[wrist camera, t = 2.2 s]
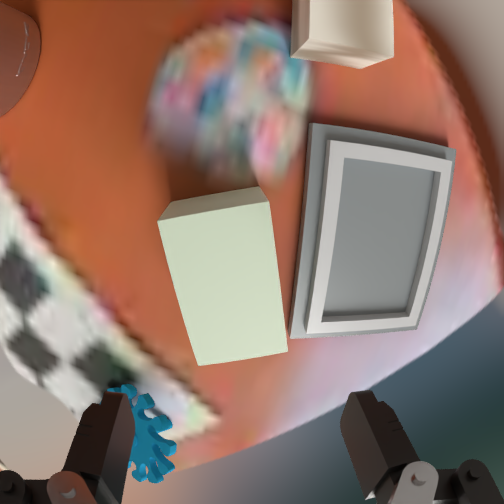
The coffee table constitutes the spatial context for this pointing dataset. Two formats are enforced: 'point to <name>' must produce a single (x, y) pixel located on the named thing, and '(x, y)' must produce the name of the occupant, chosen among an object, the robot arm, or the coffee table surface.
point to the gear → (148, 439)
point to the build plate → (368, 231)
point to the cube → (342, 31)
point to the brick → (226, 274)
